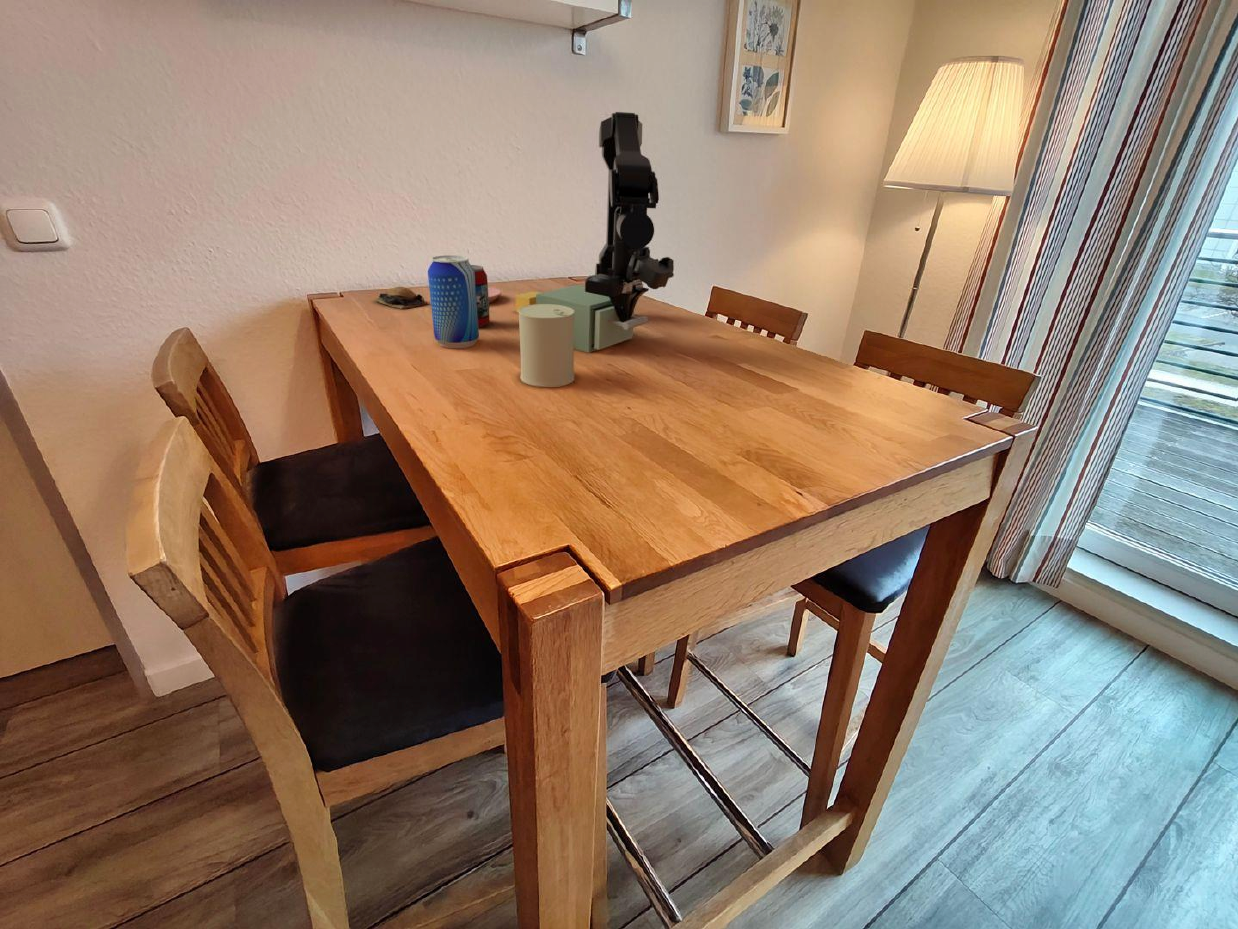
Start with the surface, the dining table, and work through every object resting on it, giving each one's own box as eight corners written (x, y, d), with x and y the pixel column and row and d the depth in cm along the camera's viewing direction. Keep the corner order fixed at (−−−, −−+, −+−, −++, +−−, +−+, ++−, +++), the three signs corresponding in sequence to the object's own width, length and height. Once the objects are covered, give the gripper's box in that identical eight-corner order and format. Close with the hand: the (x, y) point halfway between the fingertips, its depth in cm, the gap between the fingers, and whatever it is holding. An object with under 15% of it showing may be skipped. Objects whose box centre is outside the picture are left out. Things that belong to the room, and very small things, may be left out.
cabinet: (626, 339, 123) (628, 295, 118) (588, 352, 113) (589, 305, 109) (576, 326, 129) (576, 284, 125) (537, 338, 120) (536, 293, 116)
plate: (513, 299, 149) (512, 291, 148) (472, 309, 139) (472, 300, 138) (472, 290, 156) (471, 282, 155) (430, 299, 145) (429, 291, 144)
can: (552, 391, 95) (551, 317, 89) (509, 379, 99) (505, 307, 93) (585, 376, 102) (586, 307, 96) (543, 365, 106) (542, 298, 100)
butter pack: (547, 311, 140) (547, 294, 138) (529, 315, 136) (529, 298, 134) (533, 307, 143) (533, 291, 141) (516, 312, 138) (515, 295, 136)
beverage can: (482, 329, 124) (478, 271, 118) (452, 326, 125) (447, 268, 119) (494, 322, 130) (491, 265, 124) (466, 319, 131) (461, 263, 125)
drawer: (652, 342, 118) (655, 306, 115) (619, 355, 110) (621, 316, 107) (585, 326, 127) (586, 291, 123) (550, 336, 119) (549, 300, 115)
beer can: (487, 340, 117) (482, 257, 110) (464, 352, 110) (457, 263, 103) (451, 335, 120) (443, 252, 112) (426, 345, 113) (416, 259, 105)
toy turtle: (372, 302, 140) (370, 286, 139) (402, 296, 147) (400, 281, 145) (400, 310, 135) (398, 293, 133) (430, 304, 141) (428, 288, 140)
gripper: (636, 251, 96) (631, 344, 103) (693, 241, 109) (684, 324, 117) (583, 242, 101) (582, 331, 109) (643, 234, 115) (638, 314, 122)
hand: (624, 325), depth 114 cm, fingers closed
